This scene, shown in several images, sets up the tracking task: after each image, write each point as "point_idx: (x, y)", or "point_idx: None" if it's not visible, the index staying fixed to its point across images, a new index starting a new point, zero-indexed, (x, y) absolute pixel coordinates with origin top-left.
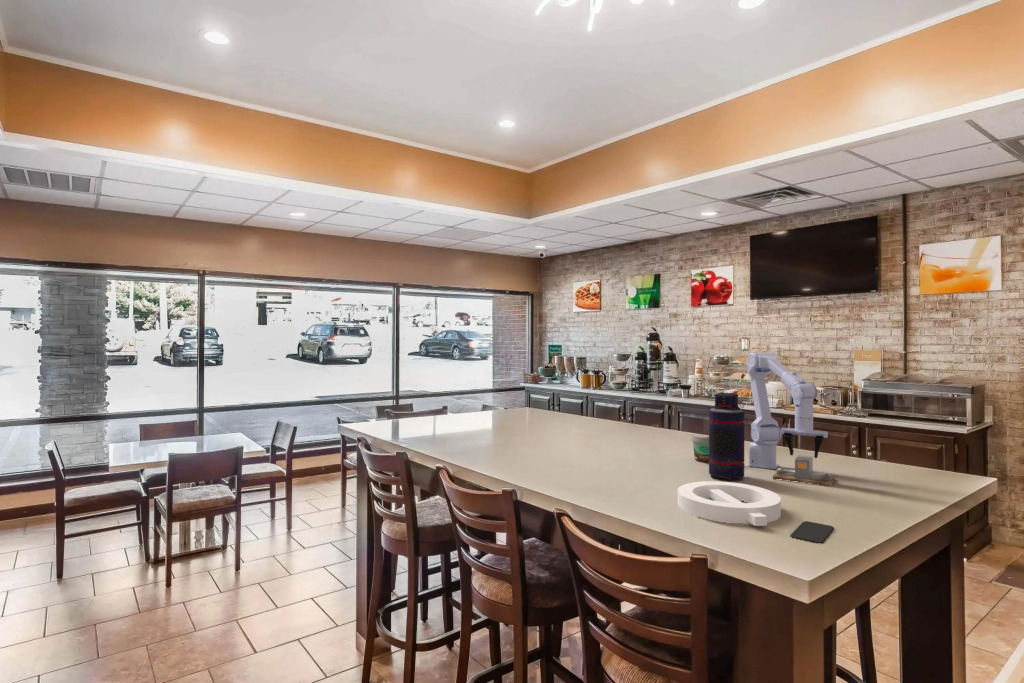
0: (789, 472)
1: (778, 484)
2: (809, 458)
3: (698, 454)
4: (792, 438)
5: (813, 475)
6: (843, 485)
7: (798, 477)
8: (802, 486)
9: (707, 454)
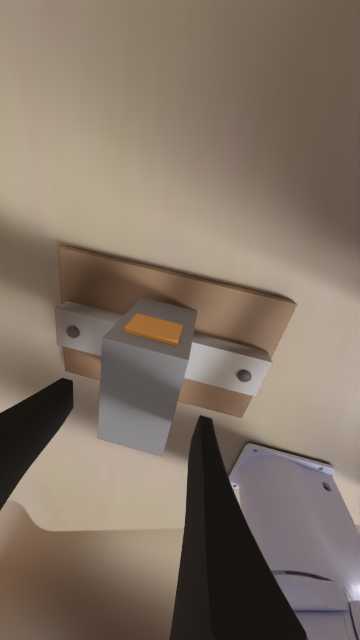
0: (216, 345)
1: (291, 189)
2: (107, 394)
3: None
4: (182, 607)
5: None
6: (35, 287)
7: (183, 308)
8: (176, 196)
9: None
